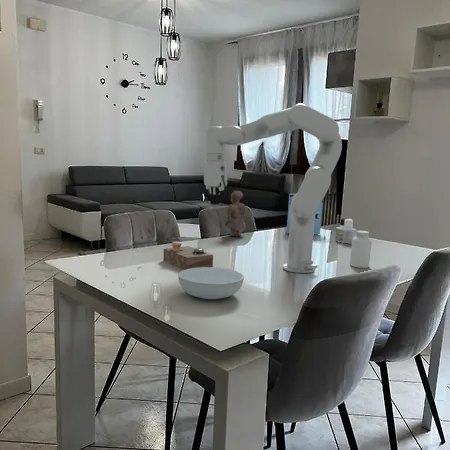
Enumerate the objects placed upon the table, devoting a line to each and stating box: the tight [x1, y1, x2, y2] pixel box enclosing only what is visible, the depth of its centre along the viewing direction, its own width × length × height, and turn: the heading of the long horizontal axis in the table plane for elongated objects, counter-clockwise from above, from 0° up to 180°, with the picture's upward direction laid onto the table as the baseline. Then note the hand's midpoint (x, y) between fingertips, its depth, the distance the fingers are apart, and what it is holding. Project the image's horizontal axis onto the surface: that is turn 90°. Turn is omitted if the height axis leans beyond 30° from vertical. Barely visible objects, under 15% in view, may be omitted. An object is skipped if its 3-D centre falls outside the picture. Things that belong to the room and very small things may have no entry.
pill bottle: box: [349, 230, 373, 269], centre depth 197 cm, size 8×8×15 cm
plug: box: [193, 247, 205, 255], centre depth 185 cm, size 4×4×5 cm
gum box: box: [286, 193, 324, 235], centre depth 272 cm, size 20×5×23 cm, turn 85°
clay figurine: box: [224, 190, 247, 237], centre depth 252 cm, size 13×10×25 cm
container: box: [334, 217, 357, 244], centre depth 252 cm, size 8×8×13 cm
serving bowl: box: [177, 267, 245, 300], centre depth 147 cm, size 21×21×7 cm
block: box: [162, 245, 214, 270], centre depth 187 cm, size 18×12×5 cm, turn 37°
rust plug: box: [171, 241, 183, 252], centre depth 188 cm, size 4×4×5 cm
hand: (214, 204), depth 187 cm, fingers closed
